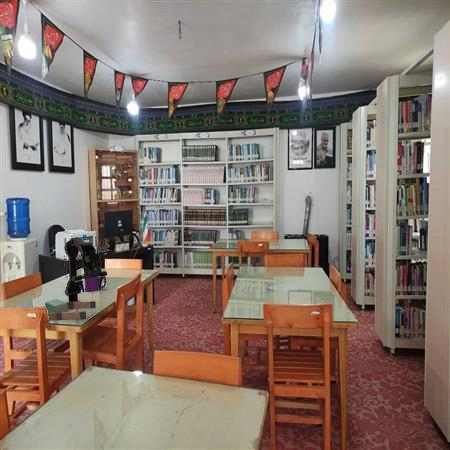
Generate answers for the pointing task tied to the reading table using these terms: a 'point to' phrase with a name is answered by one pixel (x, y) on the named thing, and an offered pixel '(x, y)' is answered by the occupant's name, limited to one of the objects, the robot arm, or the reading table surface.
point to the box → (56, 306)
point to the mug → (93, 284)
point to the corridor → (73, 314)
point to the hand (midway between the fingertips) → (91, 291)
